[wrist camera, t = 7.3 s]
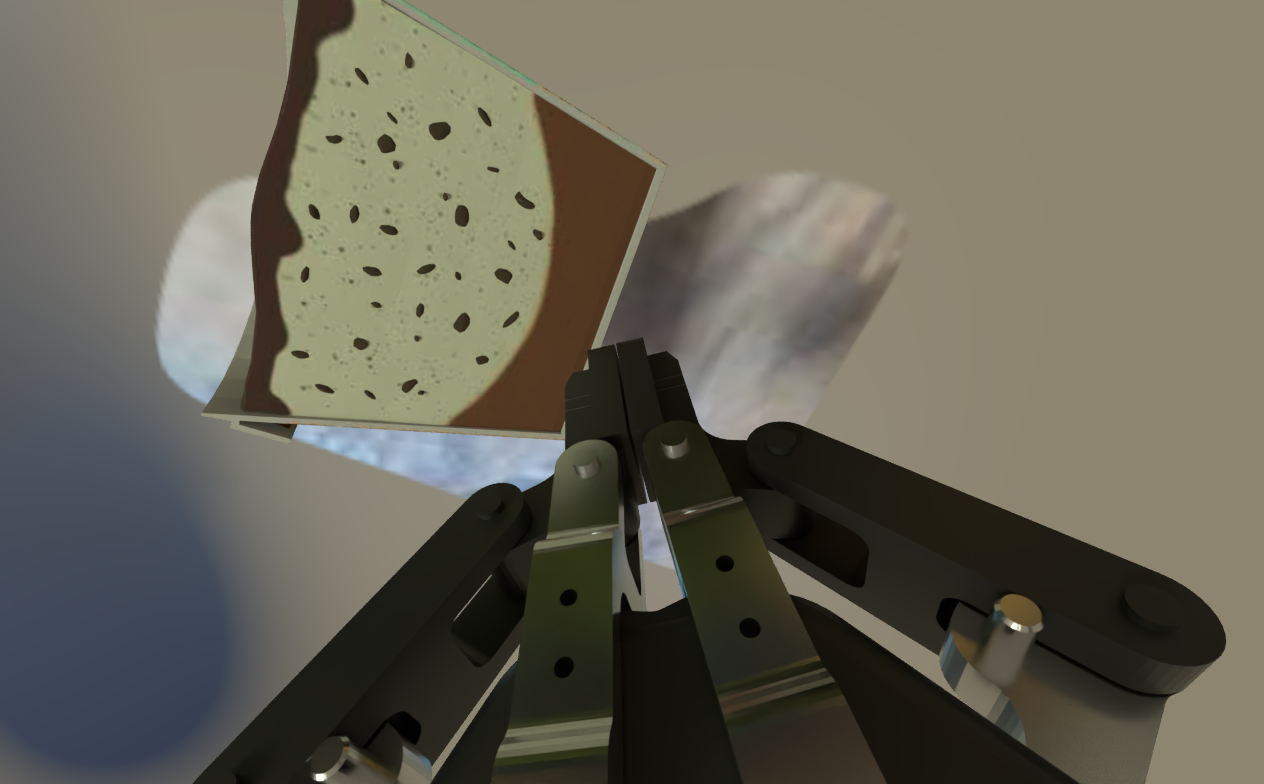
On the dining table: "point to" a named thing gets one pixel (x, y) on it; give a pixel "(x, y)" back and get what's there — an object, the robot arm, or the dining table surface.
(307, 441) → the dining table surface
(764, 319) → the dining table surface
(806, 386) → the dining table surface
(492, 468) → the dining table surface
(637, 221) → the food container
